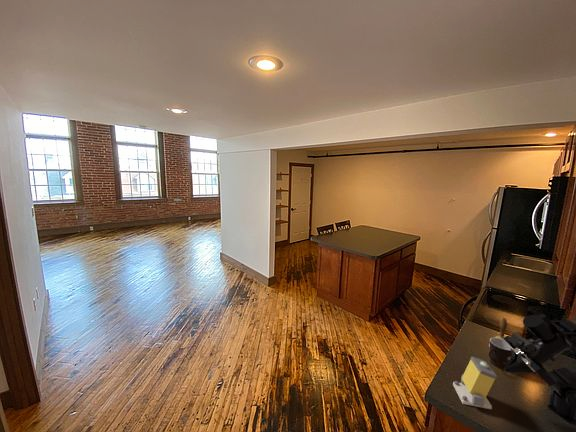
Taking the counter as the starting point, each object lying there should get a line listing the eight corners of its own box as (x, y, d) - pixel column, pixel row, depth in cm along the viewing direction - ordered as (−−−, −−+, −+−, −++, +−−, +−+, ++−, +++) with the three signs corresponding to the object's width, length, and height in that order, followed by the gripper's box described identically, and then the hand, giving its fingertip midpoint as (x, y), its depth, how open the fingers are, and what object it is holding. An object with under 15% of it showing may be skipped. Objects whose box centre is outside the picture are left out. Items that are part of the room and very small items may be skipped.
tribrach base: (477, 387, 98) (479, 377, 97) (492, 411, 88) (494, 400, 87) (452, 382, 100) (453, 373, 99) (463, 405, 90) (464, 394, 89)
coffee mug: (502, 358, 114) (505, 338, 113) (517, 372, 106) (521, 350, 104) (475, 356, 115) (477, 336, 114) (488, 370, 107) (491, 349, 105)
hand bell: (508, 347, 122) (512, 316, 120) (513, 357, 115) (517, 325, 113) (487, 341, 126) (490, 312, 124) (490, 351, 119) (494, 319, 117)
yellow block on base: (473, 386, 97) (486, 359, 94) (483, 403, 90) (498, 374, 87) (459, 381, 98) (472, 354, 95) (468, 397, 91) (482, 368, 88)
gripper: (512, 315, 95) (475, 338, 99) (549, 346, 77) (503, 372, 81) (534, 337, 95) (496, 359, 99) (577, 374, 77) (529, 398, 81)
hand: (504, 370), depth 90 cm, fingers closed
